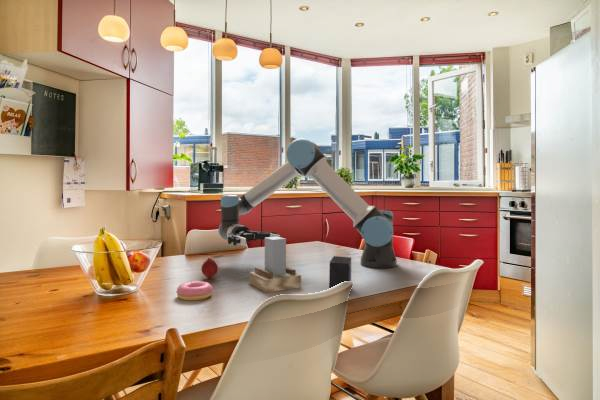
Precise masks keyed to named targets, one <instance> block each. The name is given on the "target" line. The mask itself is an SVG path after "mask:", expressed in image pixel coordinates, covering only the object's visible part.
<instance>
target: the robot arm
mask: <svg viewBox="0 0 600 400" xmlns="http://www.w3.org/2000/svg"><path fill="white" fill-rule="evenodd" d="M286 159H287V161H286V162H285V163H283V164H282V165H281V166H279V167H278V168H277V169H276V170H274V171H273V172H272V173H270V174H269V175H267V176H266V177H265V178H264V179H262V180H260V181H259V182H258V183H257V184H256V185H253V187H252V188H250V189H249V190H247V191H246V192H244V194H241V196H240V197H239V196H238V195H237V194H233V195H232V194H226V195H225V194H224V195H222V196H221V197H220V217H221V218H220V220H221V221H220V225H219V227H218V230H217V232H218V235H219V237H220V238H222V239H223V240H225V241H227V244H228V245H230V244H233V246H235V247H236V246H237V245H239V246H243V247H246V246H247V244H248V243H249V242H251V241H258V240H264V241H265V237H281V235H280V234H278V233H277V232H274V231H271V232H270V231H260V230H258V231H256V230H255V231H253V230H251V229H250V228H249V227H248V226H246V225H242V224H240V216H244V215H245V216H246V215H247V214H249V213H250V212H251V211H252V210H253V209H254V208H255V207H256V206H257V205H259V204H260V203H262V202H263V201H265V200H266V199H268V198H269V197H270V196H271V195H273V194H274V193H275V192H276V191H278V190H280V189H281V188H282V187H284V186H285V185H287V183H289V182H291V181H292V180H293V179H295V178H296V177H298V176H304V177H305V178H307V179H308V178H309V179H312V180H313V181H314V182H315V183H316V184H317V185H318V186H319V187H320V189H321V190H323V191H324V192H325V194H326V195H327V196H329V198H331V200H333V202H334V203H335V204H336V205H337V206H338V207H339V208H340V209H341V210H342V211H343V212H344V213H345V214H346V215H347V216H348V217H349V218H350V219H351V220H352V223H353V226H352V227H353V228H354V229H355V230H356V231H357V232H358V233H359V234H360V235H361V236H362V237H361V238H362V239H363V241H364V248H363V251H362V253H361V257H360V265H362V266H363V267H367V268H373V269H376V268H377V269H389V268H391V269H392V268H394V267H395V268H396V267H397V264H398V261H397V260H398V259H397V256H396V254H395V250H394V246H393V245H394V241H393V240H394V239H393V238H394V213H393V211H391V210H383V209H380V210H379V209H378V208H377V207H376V206H375V205H369V204H368V203H367V202H366V201H365V200H364V198H362V197H361V196H360V195H359V194H358V193H357V192H356V191H355V190H354V189H353V188H352V186H351V185H349V184H348V183H347V182H346V181H345V180H344V179H343V178H342V177H341V176H340V175H339V174H338V172H336V170H334V169H333V168H332V166H331V165H329V163H328V162H327V156H326V155H325V154H324V153H323V152H322V151H321V149H320V147H319V146H318V145H317V144H316V143H314V142H312V141H311V140H309V139H306V138H298V139H297V138H296V139H295V140H293V141H291V142H290V143H289V145H288V146H287V149H286Z"/></svg>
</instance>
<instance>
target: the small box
mask: <svg viewBox="0 0 600 400" xmlns="http://www.w3.org/2000/svg"><path fill="white" fill-rule="evenodd" d="M328 272H329V274H328V276H329V279H328V281H329V282H328V285H329V286H328V289H329V288H331V287H333V286H335V285H337V284H339V283H341V282H344V281H351V282H352V257H348V256H336V255H334V256H333V257H332V258H331V260H330V261H329V271H328Z"/></svg>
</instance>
